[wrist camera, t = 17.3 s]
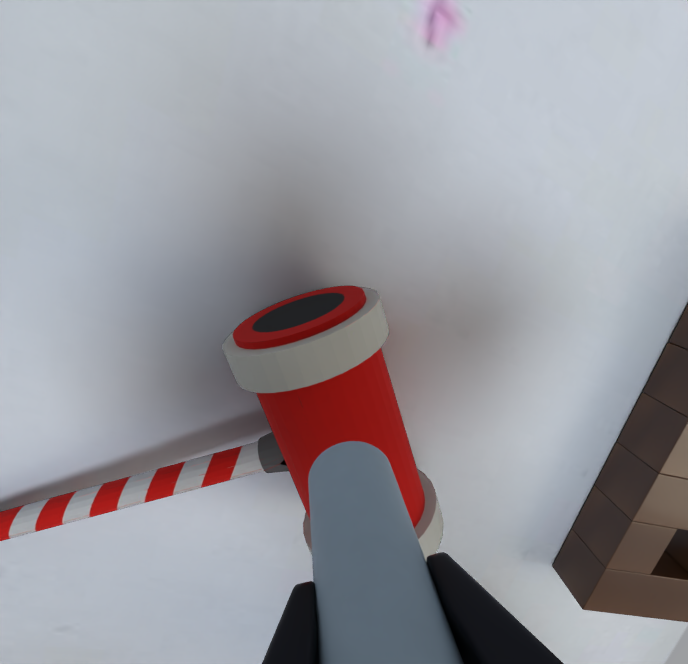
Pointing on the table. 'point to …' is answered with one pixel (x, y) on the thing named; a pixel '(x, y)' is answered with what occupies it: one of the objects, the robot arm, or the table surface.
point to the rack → (639, 506)
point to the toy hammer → (284, 414)
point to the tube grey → (371, 566)
